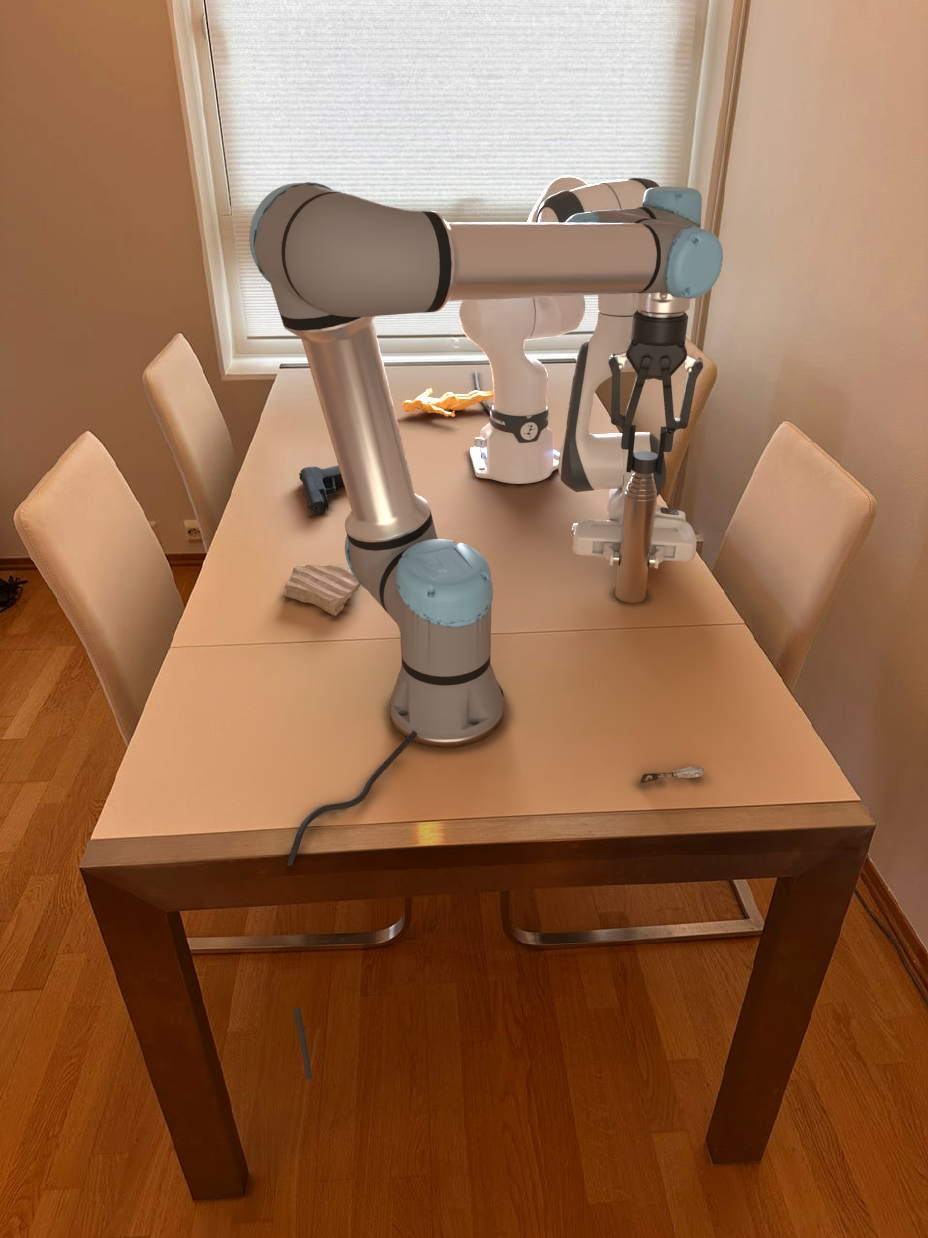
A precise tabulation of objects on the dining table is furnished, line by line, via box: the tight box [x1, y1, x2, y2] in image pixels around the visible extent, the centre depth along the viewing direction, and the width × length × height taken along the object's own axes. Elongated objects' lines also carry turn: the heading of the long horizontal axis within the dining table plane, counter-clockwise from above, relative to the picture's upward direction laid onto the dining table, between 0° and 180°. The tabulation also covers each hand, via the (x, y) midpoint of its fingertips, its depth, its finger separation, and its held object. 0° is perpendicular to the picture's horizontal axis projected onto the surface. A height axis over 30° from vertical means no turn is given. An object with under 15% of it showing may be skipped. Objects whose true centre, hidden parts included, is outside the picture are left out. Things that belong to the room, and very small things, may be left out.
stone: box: [283, 564, 361, 617], centre depth 148 cm, size 13×12×3 cm
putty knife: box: [640, 765, 705, 784], centre depth 109 cm, size 1×8×2 cm, turn 103°
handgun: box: [298, 464, 345, 515], centre depth 181 cm, size 3×18×12 cm
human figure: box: [402, 385, 493, 418], centre depth 225 cm, size 20×20×4 cm
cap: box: [632, 451, 658, 474], centre depth 135 cm, size 4×4×2 cm
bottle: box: [614, 472, 658, 604], centre depth 141 cm, size 5×5×24 cm
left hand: (643, 469), depth 136 cm, fingers closed on cap, 4 cm apart
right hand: (634, 563), depth 143 cm, fingers closed on bottle, 5 cm apart
